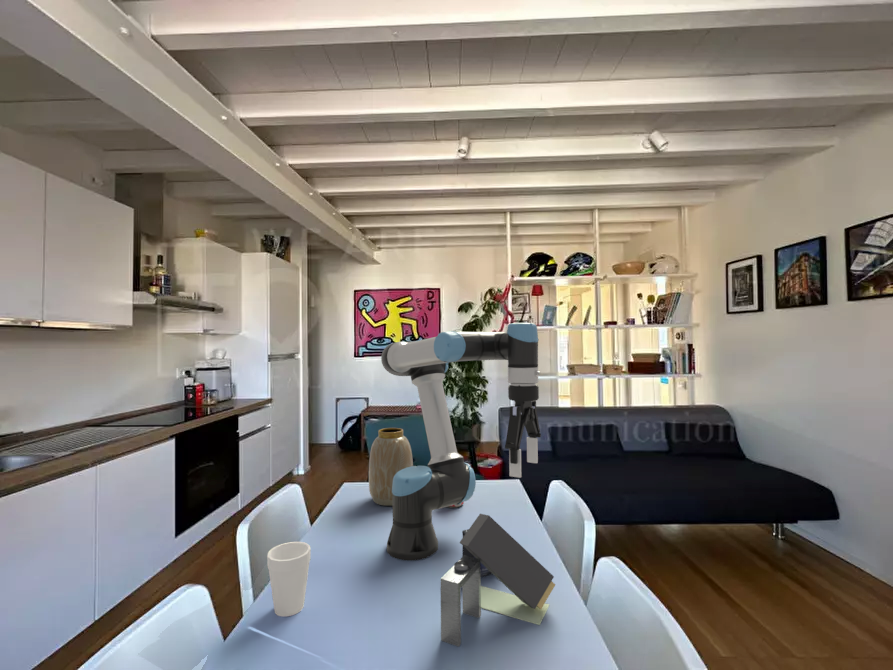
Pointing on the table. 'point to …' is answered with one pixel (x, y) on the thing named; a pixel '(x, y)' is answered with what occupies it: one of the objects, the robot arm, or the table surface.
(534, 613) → the mat
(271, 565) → the foam cup
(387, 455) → the vase
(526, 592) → the plug
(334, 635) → the table surface
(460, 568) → the frame
